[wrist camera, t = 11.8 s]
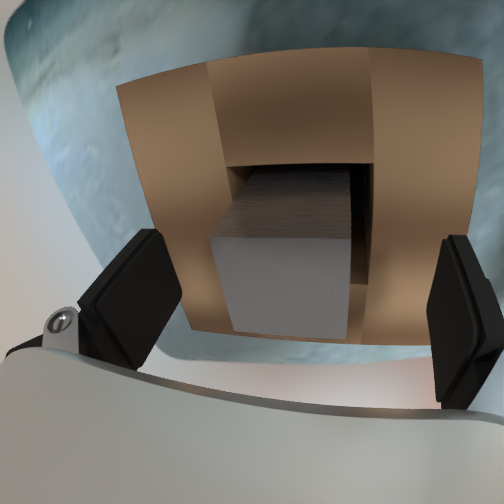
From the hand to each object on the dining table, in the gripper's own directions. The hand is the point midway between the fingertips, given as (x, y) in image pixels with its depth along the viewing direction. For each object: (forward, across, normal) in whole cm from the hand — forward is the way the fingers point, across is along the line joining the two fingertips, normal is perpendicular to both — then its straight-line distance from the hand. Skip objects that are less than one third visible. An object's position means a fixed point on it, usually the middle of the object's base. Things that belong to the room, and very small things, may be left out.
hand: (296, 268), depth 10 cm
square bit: (+9, 0, 0) cm, 9 cm away
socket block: (+9, 0, +1) cm, 9 cm away
